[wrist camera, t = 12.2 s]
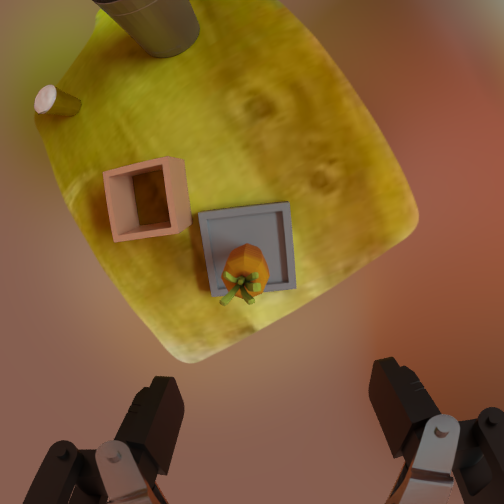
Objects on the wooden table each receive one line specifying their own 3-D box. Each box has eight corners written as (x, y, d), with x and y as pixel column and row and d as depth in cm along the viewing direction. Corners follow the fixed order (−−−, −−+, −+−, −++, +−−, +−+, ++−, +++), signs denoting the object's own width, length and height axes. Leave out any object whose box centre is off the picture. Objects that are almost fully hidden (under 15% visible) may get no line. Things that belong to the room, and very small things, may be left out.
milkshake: (68, 128, 34) (29, 122, 24) (63, 103, 33) (26, 94, 23) (87, 115, 33) (49, 105, 24) (82, 90, 32) (46, 76, 23)
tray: (201, 211, 37) (198, 213, 35) (287, 201, 37) (289, 202, 35) (214, 291, 40) (211, 296, 39) (294, 283, 40) (296, 288, 38)
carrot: (231, 267, 38) (216, 322, 24) (229, 232, 37) (211, 269, 22) (267, 267, 38) (272, 321, 24) (266, 231, 37) (272, 268, 22)
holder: (126, 172, 36) (102, 172, 29) (184, 159, 35) (167, 156, 29) (136, 231, 38) (114, 242, 32) (192, 223, 38) (178, 233, 31)
